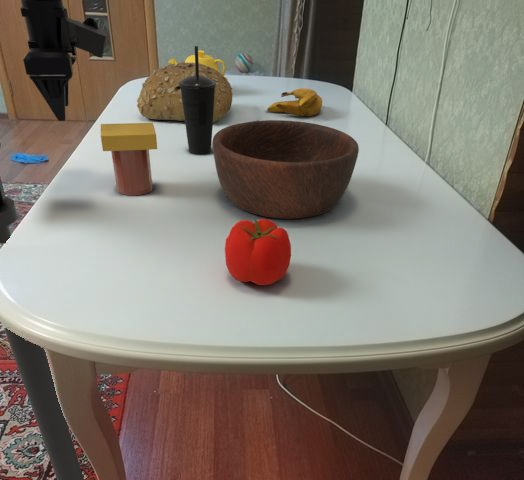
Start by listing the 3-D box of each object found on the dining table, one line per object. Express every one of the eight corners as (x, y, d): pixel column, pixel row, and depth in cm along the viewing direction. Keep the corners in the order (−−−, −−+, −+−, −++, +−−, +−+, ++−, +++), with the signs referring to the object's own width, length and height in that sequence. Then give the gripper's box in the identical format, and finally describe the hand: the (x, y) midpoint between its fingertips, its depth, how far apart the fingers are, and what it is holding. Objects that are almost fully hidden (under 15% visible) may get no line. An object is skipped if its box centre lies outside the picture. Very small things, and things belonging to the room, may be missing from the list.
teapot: (208, 85, 162) (207, 45, 155) (232, 94, 154) (232, 52, 147) (169, 90, 155) (165, 48, 148) (191, 99, 147) (189, 56, 140)
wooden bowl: (329, 172, 104) (335, 119, 98) (369, 224, 85) (380, 162, 78) (207, 174, 100) (206, 119, 94) (221, 230, 81) (220, 166, 75)
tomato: (220, 263, 73) (219, 214, 68) (280, 259, 74) (283, 210, 70) (232, 299, 66) (232, 246, 61) (298, 292, 67) (302, 241, 63)
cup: (117, 196, 90) (110, 150, 85) (116, 183, 95) (110, 139, 90) (153, 194, 91) (149, 149, 86) (151, 181, 96) (146, 137, 91)
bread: (235, 106, 143) (235, 58, 136) (229, 127, 126) (229, 73, 119) (149, 102, 143) (145, 53, 136) (132, 122, 126) (125, 68, 119)
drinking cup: (223, 149, 113) (222, 46, 100) (206, 159, 107) (203, 51, 95) (194, 143, 115) (189, 41, 103) (175, 152, 110) (168, 46, 97)
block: (102, 151, 84) (100, 135, 83) (102, 138, 90) (100, 123, 88) (157, 149, 86) (156, 134, 85) (154, 137, 92) (152, 122, 90)
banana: (316, 103, 149) (318, 82, 145) (326, 121, 134) (329, 98, 131) (264, 102, 148) (265, 80, 144) (269, 120, 133) (270, 96, 130)
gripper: (98, 6, 69) (114, 127, 78) (98, -6, 83) (112, 98, 92) (10, 4, 66) (38, 129, 76) (26, -8, 80) (48, 99, 90)
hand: (63, 113), depth 84 cm, fingers open, 9 cm apart
